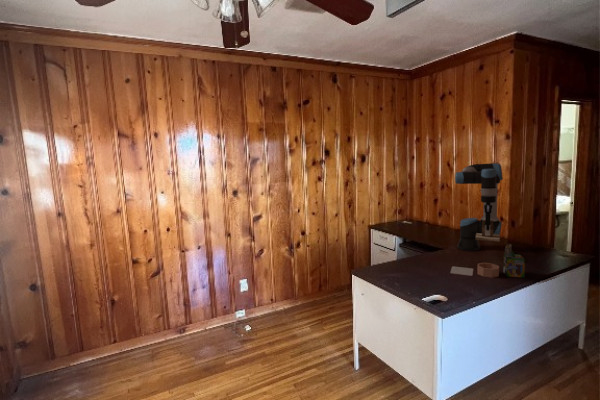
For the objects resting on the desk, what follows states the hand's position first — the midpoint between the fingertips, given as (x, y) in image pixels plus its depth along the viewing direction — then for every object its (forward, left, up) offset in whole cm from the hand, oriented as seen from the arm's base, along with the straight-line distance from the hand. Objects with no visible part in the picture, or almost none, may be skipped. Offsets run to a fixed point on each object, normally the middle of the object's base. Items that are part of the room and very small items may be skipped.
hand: (487, 234), depth 188 cm
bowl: (0, 0, -25) cm, 25 cm away
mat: (0, -14, -25) cm, 28 cm away
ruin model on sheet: (-43, +12, -25) cm, 51 cm away
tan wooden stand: (0, 0, -2) cm, 2 cm away
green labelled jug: (-5, +13, -25) cm, 29 cm away
